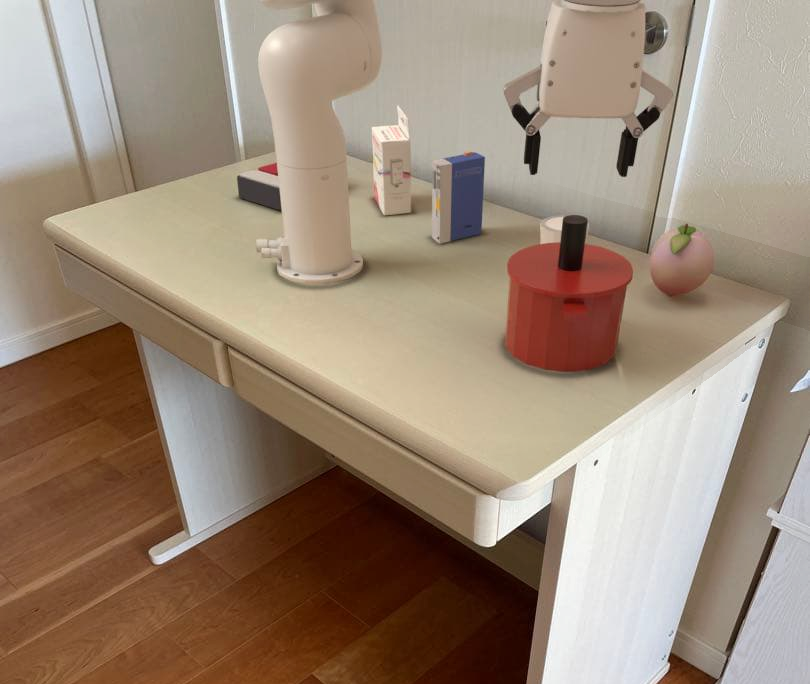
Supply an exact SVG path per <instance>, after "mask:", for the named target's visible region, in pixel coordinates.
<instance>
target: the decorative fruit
mask: <svg viewBox="0 0 810 684" xmlns="http://www.w3.org/2000/svg"><path fill="white" fill-rule="evenodd" d="M714 266H715V251H714V248H713V245H712V242H711V241H710V240H709V239H708V237H706V236H705V235H703V234H702V233H701V232H698V231H697V228H696V227H694V226H693V225H689V224H688V223H685V224H683V225H679V226H678V227H677V228H674V229H670V230H669V231H666V232H665V233H663V234H662V235H660V237H659V238H658V239H657V240H656V241H655V243H654V244H653V247H652V249H651V254H650V260H649V272H650V276H651V280H652V282H653V284H654V285H655V287H656V288H657V289H658V290H659V291H660V292H662V293H663V294H665V295H666V296H668V297H671V298H672V297H678V296H683V295H686V294H689V293H691V292H693V291H695V290H697V289H698V288H699V287H701V286H702V285H704V283H705V282H707V280H708V279H709V277H710V276H711V274H712V272H713V269H714Z"/></svg>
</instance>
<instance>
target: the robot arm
mask: <svg viewBox="0 0 810 684" xmlns="http://www.w3.org/2000/svg"><path fill="white" fill-rule="evenodd" d="M258 1H259V2H260V3H261V4H262V5H263V6H265V7H267V8H268V9H273V10H290V9H297V8H301V7H306V6H310V5H314V9H315V13H316V16H311V17H308V18H307V17H306V18H303V19H299V20H295V21H290V22H287V23H285V24H281V25H280V26H278V27H276V28H275V29H273V30H272V31H271V32H269V34H268V35H267V36H266V37H265V39H264V40H263V42H262V44H261V45H260V48H259V52H258V57H257V67H258V75H259V78H260V84H261V87H262V90H263V93H264V98H265V101H266V104H267V109H268V113H269V117H270V118H269V119H270V121H271V129H272V134H273V135H272V136H273V144H274V152H275V153H274V154H275V160H276V163H277V170H278V180H279V189H280V199H281V208H282V211H281V216H282V226H283V227H282V228H283V237H281V236H280V237H277V239H269V238H264V239H263V238H257V239H255V240H256V241H255V249H256V253H257V254H261V258H262V259H273V258H275V259H277V261H276V270H277V274H278V275H279V276H280V277H283V278H284V279H285V280H288V281H292V282H293V283H294V282H295V283H299V284H305V285H306V284H307V285H308V284H309V285H326V284H333V283H337V282H342V281H345V280H348V279H350V278H352V277H354V276H356V275H357V274H359V273H360V272H361V271H362V269H363V267H364V259H363V257H362V256H361V254H360V253H358V252H357V251H356V250H355V249H352V233H351V214H350V213H351V211H350V197H349V196H350V195H349V194H350V193H349V177H348V176H349V174H348V158H347V142H346V136H345V133H344V129H343V126H342V124H341V122H340V120H339V118H338V116H337V114H336V113H335V110H334V108H333V104H332V103H333V101H335V100H337V99H339V98H342V97H345V96H349V95H352V94H354V93H358V92H360V91H362V90H364V89H366V88H368V87H369V86H370V85H371V84H372V83H373V82H375V80H376V79H377V77H378V75H379V73H380V69H381V65H382V60H383V59H382V58H383V57H382V55H383V52H382V51H383V49H382V38H381V33H380V27H379V20H378V15H377V9H376V4H375V0H258ZM645 41H646V6H645V3H643V2H642V1H641V0H553V1H552V2H551V7H550V10H549V13H548V18H547V22H546V25H545V31H544V36H543V42H542V43H543V44H542V48H541V55H540V61H539V66H538V67H536V68H533V69H532V70H529V71H528V72H526V73H524V74H522V75H521V76H519V77H517V78H515V79H513V80H511V81H509V82H508V83H507V82H506V83H505V84H504V86H503V90H502V91H503V95H504V97H505V100H506V102H507V105H508V107H509V110H510V112H511V116H512V117H513V118H514V120H515V121H516V122H517V124H518V125H519V126H520V127H521V128H522V129H523V131H525V140H524V153H523V164H524V165H528V169H529V175H530V176H535V175H537V174H538V171H539V161H540V151H541V141H542V137H541V131H540V129H541V128H542V127H543V126H544V125H545V124H546V123H547V122H548V120H550V118H551V117H552V118H565V119H621V120H622V122H623V123H624V124H625V128H624V129H623V131H621V135H620V142H619V146H618V147H619V148H618V154H617V158H616V159H617V160H616V164H615V165H616V171H617V173H618V175H619V176H620V177H621V178H627V176H628V172H629V167H634V164H635V160H636V154H637V149H638V142H639V138H641V137H642V136H643V135H644V132H645V131H646V130H647V129H648V128H650V127H651V126H652V125H653V124H655V123H656V122H657V121H658V120H659V118H660V117H661V114H662V112H663V111H665V109H666V108H667V106H668V104H669V103H670V101H671V100H672V98H673V97H674V91H673V90H672V88H671V87H670V86H669V85H667V84H665V82H663V81H661V80H660V79H658V78H657V77H655V76H654V75H652V74H650V73H649V72H648V71H647V70H644V69H643V66H644V65H643V64H644V54H645ZM534 87H536V101H537V102H538V103H537V105H536V106H535V107H534V108H533V109H532V110H531V112H529V111H528V110H527V108H526V107H525V106H524V105H523V104H522V101H521V99H520V96H521V95H522V94H523V93H524V92H526V91H528V90H531V89H532V88H534ZM641 88H643V89H644V90H645V91H647V92H648V93H650V94H652V95H653V99H652V101H651V103H650V104H649V105H648V106H646V108H645V109H643V110H642V111H641V112H640V113H639V114H638V115H636V113H635V111H636V110H637V107H638V102H639V97H640V91H641Z"/></svg>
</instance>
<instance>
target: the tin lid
mask: <svg viewBox="0 0 810 684" xmlns="http://www.w3.org/2000/svg"><path fill="white" fill-rule="evenodd" d="M588 223H589V218H588V217H585V216H583V215H578V214H570V215H567V216H565V217H564V218H563V222H562V231H561V240H560V242H555V243H544V244H540V243H539V244H534V245H530V246H527V247H525V248H524V247H523V248H522V249H520V250H518V251H516V252H515V253H513V254H512V255H511V256H510V257H509V258H508V260H507V263H506V266H507V267H506V272H507V275H508V278H509V279H510V278H511V279H512V280H513V281H514V282H515V283H517V284H518V285H520V286H521V287H523V288H526V289H528V290H530V291H533V292H536V293H540V294H543V295H548V296H554V297H561V298H593V297H600V296H605V295H609V294H612V293H615V292H617V291H620V290H621V289H623V288H625V287H626V286H627V287H628V286H629V285H630V284H631V282H632V280H633V276H634V268H633V266H632V263H631V262H630V261H629V260H628V259H627V258H626V257H625V256H623V255H621V254H619V253H618V252H616V251H613V250H611V249H608V248H606V247H603V246H598V245H594V244H588V243H586V244H585V239H586V231H587V224H588Z"/></svg>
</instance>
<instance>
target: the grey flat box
mask: <svg viewBox="0 0 810 684" xmlns="http://www.w3.org/2000/svg"><path fill="white" fill-rule="evenodd" d="M236 182H237V183H236V184H237V193H238V198H240V199H242V200H246V201H249V202H253V203H255V204H258V205H262V206H265V207H267V208H270V209H274V210H277V211H280V212H282V208H281V199H280V189H279V180H278V170H277V162H274V163H270V164H266V165H263V166H260V167H258V168H257V169H253V170H249V171H245V172H242V173H240V174H239V175H237V176H236Z"/></svg>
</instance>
